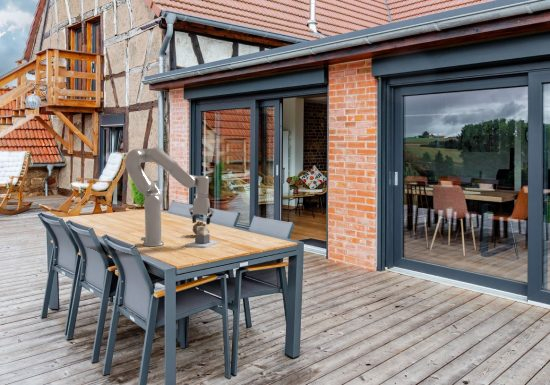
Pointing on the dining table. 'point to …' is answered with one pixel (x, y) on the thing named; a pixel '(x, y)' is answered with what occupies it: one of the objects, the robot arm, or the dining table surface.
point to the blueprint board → (202, 244)
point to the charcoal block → (202, 239)
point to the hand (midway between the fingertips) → (201, 223)
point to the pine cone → (197, 226)
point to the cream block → (202, 230)
